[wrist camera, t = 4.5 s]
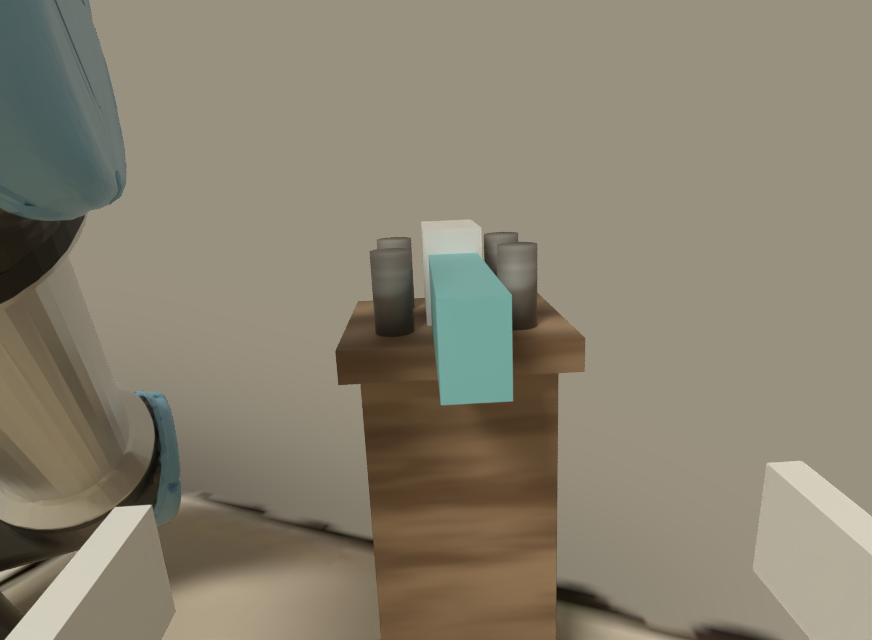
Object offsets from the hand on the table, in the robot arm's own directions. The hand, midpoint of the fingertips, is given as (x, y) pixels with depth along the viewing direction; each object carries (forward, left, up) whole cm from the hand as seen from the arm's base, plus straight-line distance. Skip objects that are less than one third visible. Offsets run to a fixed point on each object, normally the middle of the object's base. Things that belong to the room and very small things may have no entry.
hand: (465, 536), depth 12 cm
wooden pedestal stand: (-16, +21, -32) cm, 41 cm away
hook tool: (-13, +17, -2) cm, 21 cm away
